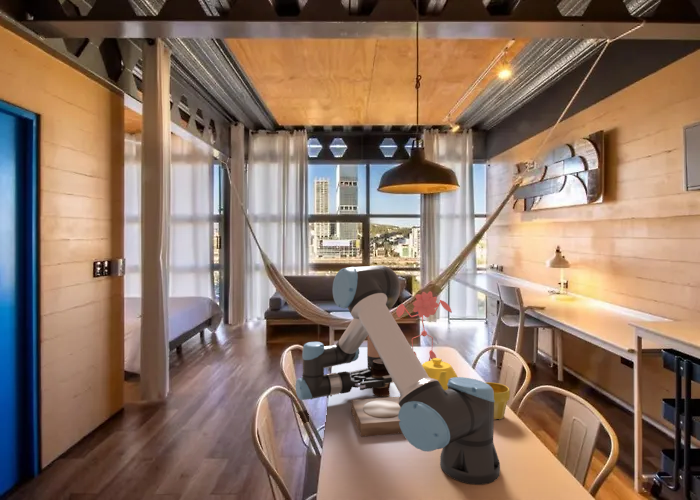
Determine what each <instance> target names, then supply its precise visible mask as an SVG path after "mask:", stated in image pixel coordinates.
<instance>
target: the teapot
mask: <svg viewBox="0 0 700 500" xmlns="http://www.w3.org/2000/svg"><path fill="white" fill-rule="evenodd" d="M421 364H422V366H423V368H424V369H425V371H426V373H427V374H428V376H429V377H430V378H432V379H436V380H438V381H439V383H440V384H441V386H442V388H443V389H444V390H447V389H448V386H447V384H448V380H449V379H450V378H454V377H458V375H457V373H456V371H455V369H454V368H453V366H452V365H451V363H448V362H446V361H444V360H443V361H442V358H439V357H436V358H433V359H431V358H430V361H429V360H428V361H427V360H426V361H425V362H423V363H421Z"/></svg>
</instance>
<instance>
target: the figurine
mask: <svg viewBox="0 0 700 500" xmlns="http://www.w3.org/2000/svg"><path fill="white" fill-rule="evenodd" d="M414 297H415V299H416V300H414V301H413V302H412V305H413V306H414V307H413V309H412V311H413V313H418V314H414V315H411V314H410V312H409V311H408V310H407V308H406V307H405V305H404V304H403V303H401V304H399V305H398V306H397V309H396V313H395V314H396V315H397V317H398V318H400V317H402V316H403V314H404V313H405V311H406V313H407V315H409V317H410V318H414V317H417V316H418V317H419V318H421V324H422V327H423V328H422V329H423V330H422V331H421V333H420V334H419V335H417V336H414V337H412V338H411V348H412V349H413V350H414V343H413V340H414V339H416V338H419V337H421V336H422V337H427V336H428V337H431V348H433V347H434V346H433V344H434V343H433V341H434V337H433V336H432V335H429V334H428V332H427V331H426V330H425V325H424V317H425V318H430V316H435V314H436V313H437V311H438V308H439V306H440V305H441V306H442V308H443V309H444V310H446V311H447V312H449V313H451V314H452V308H451V307H450V305H449V304H448V303H447V302H446V301H445V300H442V299H440V300H439V302H437V300H438V297H437V296H433V292H432V291H428V292H425V291H422V292H421V293H420V294H419V293H417V294H415V296H414ZM414 353H415V354H416V355H417V352H416V351H414ZM428 358H429V359H428V361H430V360H431V359H433V358H437V355H436V353H435V351H433V349H431V350H429V357H428Z"/></svg>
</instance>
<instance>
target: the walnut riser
mask: <svg viewBox="0 0 700 500" xmlns="http://www.w3.org/2000/svg"><path fill="white" fill-rule="evenodd" d="M399 398H400V396H391V397H389V396H388V397H378V398H361V399H351V400H350V412H351V416H352V417H353V420H354V422H355V424H356V427H357V429H358V432H359V434H360V437H361V438H362V437H373V436H374V437H375V436H383V435H385V436H386V435H395V434H403V433H402V431H401V428H400V425H399V422H400V420H399V419H398V414H399V410H400V408H401V407H400V406H399V404H398V402H399Z"/></svg>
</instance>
